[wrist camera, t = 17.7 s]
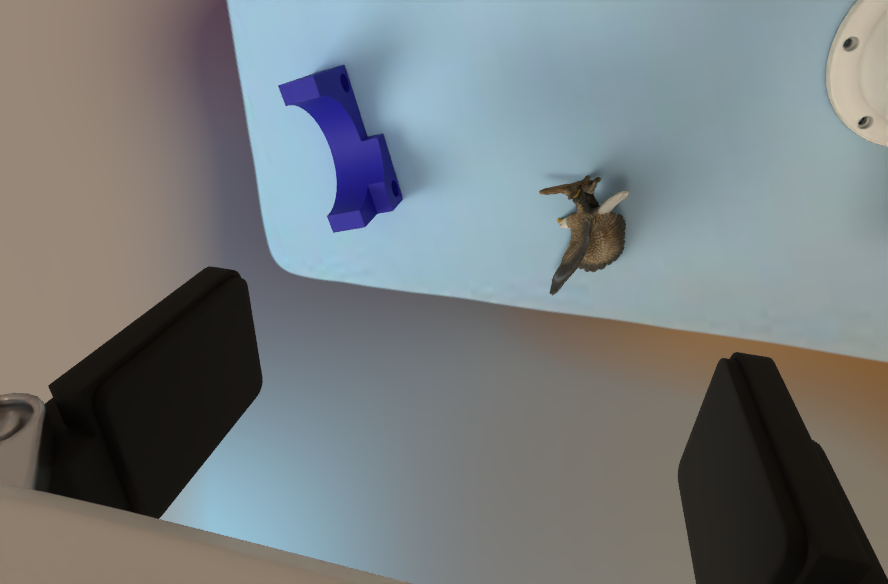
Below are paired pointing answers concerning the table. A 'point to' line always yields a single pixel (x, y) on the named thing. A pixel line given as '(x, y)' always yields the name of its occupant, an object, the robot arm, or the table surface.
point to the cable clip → (347, 148)
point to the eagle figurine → (589, 230)
